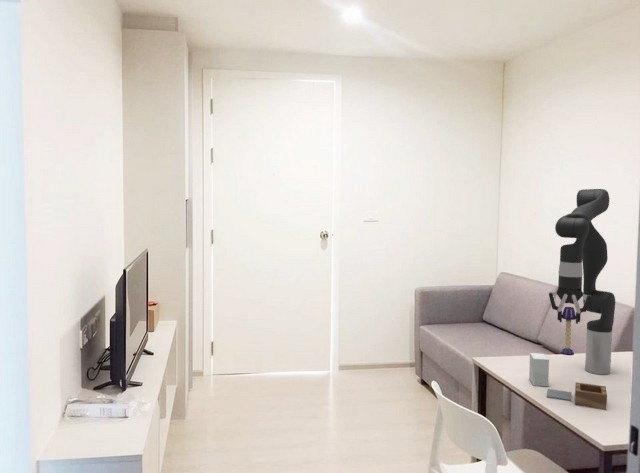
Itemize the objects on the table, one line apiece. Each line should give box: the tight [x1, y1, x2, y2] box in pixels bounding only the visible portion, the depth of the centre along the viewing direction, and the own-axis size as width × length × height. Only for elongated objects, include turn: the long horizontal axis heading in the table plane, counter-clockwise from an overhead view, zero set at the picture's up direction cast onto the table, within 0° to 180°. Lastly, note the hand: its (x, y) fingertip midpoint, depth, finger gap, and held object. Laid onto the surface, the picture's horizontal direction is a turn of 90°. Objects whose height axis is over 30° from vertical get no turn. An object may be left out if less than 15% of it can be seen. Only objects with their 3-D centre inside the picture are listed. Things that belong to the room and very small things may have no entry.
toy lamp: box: [560, 306, 576, 356], centre depth 192 cm, size 5×5×17 cm
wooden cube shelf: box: [574, 381, 608, 411], centre depth 189 cm, size 10×10×5 cm
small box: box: [528, 352, 550, 387], centre depth 208 cm, size 8×6×10 cm
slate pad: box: [546, 388, 572, 402], centre depth 195 cm, size 8×8×1 cm
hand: (568, 322), depth 192 cm, fingers closed on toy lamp, 4 cm apart
